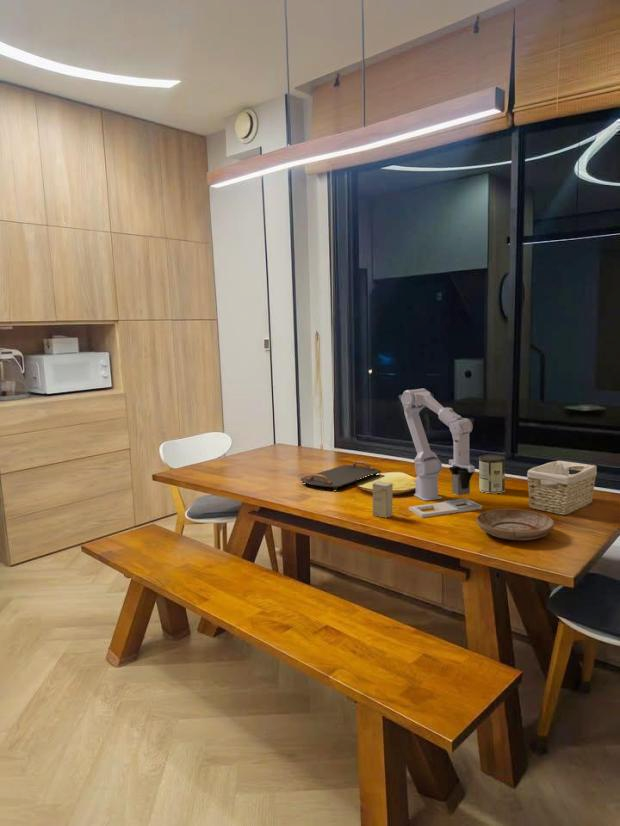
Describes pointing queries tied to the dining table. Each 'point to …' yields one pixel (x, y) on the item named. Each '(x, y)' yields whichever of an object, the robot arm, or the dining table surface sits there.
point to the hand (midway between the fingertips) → (461, 486)
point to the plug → (458, 485)
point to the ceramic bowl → (515, 524)
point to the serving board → (340, 475)
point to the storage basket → (561, 486)
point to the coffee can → (492, 474)
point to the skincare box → (382, 499)
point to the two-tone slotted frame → (445, 507)
